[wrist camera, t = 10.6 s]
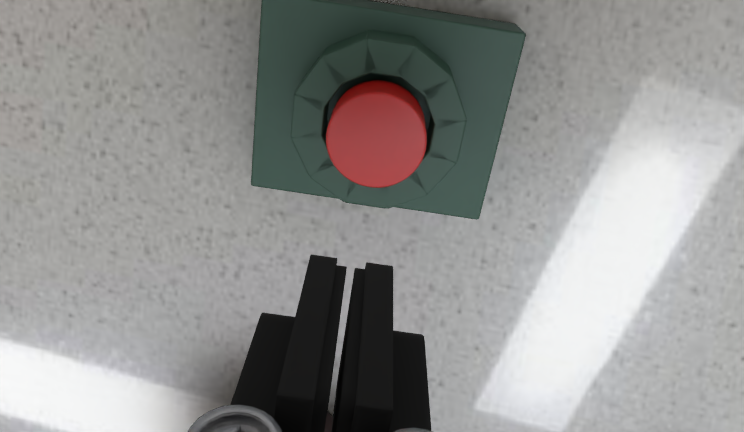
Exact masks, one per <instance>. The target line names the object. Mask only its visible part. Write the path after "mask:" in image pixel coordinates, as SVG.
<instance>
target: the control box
mask: <svg viewBox="0 0 744 432" xmlns="http://www.w3.org/2000/svg"><path fill="white" fill-rule="evenodd" d="M525 36H526V34H525V33H524V32H523V31H522V30H521V29H520V28H519V27H518V26H517V25H516V24H514V23H507V22H501V21H495V20H489V19H482V18H476V17H470V16H463V15H457V14H451V13H445V12H438V11H432V10H426V9H420V8H413V7H407V6H401V5H394V4H388V3H382V2H376V1H369V0H262V5H261V22H260V39H259V56H258V73H257V90H256V107H255V124H254V141H253V158H252V175H251V185H252V186H258V187H265V188H271V189H278V190H285V191H291V192H298V193H305V194H311V195H318V196H324V197H331V198H338V199H340V200H342V201H343V202H344V201H345V202H346V203H353V204H359V205H366V206H373V207H379V208H391V207H398V208H404V209H411V210H418V211H424V212H431V213H438V214H444V215H451V216H458V217H464V218H471V219H479V216H480V213H481V209H482V205H483V201H484V197H485V193H486V189H487V185H488V181H489V177H490V173H491V169H492V166H493V162H494V158H495V154H496V150H497V146H498V142H499V138H500V134H501V130H502V126H503V122H504V119H505V115H506V111H507V107H508V103H509V99H510V95H511V91H512V87H513V83H514V79H515V75H516V72H517V68H518V64H519V60H520V56H521V52H522V48H523V44H524V40H525ZM371 80H383V81H389V82H393V83H395V84H398V85H400V86H402V87H403V88H405V89H406V90H408V91H409V92H410V93H411V94H412V95H413V96H414V97H415V98H416V100H417V101H418V103H419V104H420V106H421V108H422V111H423V114H424V118H425V125H426V134H427V145H426V151H425V155H424V157H423V160H422V162H421V163H420V165H419V167H418V168H417V169H416V170H415V171H414V172H413V173H412V174H411V175H410V176H409V177H408V178H406V179H405V180H403V181H401V182H399V183H397V184H395V185H391V186H388V187H379V188H374V187H367V186H362V185H359V184H357V183H355V182H352V181H351V180H349V179H347V178H346V177H345V176H343V175H342V174H341V173H340V172H339V171H338V170H337V169H336V167H335V166H334V164H333V163H332V161H331V159H330V157H329V154H328V151H327V147H326V132H327V127H328V124H329V121H330V118H331V115H332V112H333V109H334V107H335V105H336V103H337V102H338V100H339V99H340V97H341V96H342V95H343V94H344V93H345V92H346V91H347V90H349V89H350V88H352V87H353V86H355V85H357V84H359V83H362V82H366V81H371Z"/></svg>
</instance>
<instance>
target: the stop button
mask: <svg viewBox="0 0 744 432" xmlns="http://www.w3.org/2000/svg"><path fill="white" fill-rule="evenodd" d="M426 145H427V134H426V125H425V118H424V114H423V111H422V108H421V106H420V104H419V103H418V101H417V100H416V98H415V97H414V96H413V95H412V94H411V93H410V92H409V91H408V90H406V89H405V88H403V87H402V86H400V85H398V84H395V83H393V82H389V81H383V80H371V81H366V82H362V83H359V84H357V85H355V86H353V87H352V88H350V89H349V90H347V91H346V92H345V93H344V94H343V95H342V96H341V97H340V99H339V100H338V102H337V103H336V105H335V107H334V109H333V112H332V115H331V118H330V121H329V124H328V127H327V132H326V147H327V151H328V154H329V157H330V159H331V161H332V163H333V164H334V166H335V167H336V169H337V170H338V171H339V172H340V173H341V174H342V175H343V176H345V177H346V178H347V179H349V180H351V181H352V182H355V183H357V184H359V185H362V186H367V187H374V188H379V187H388V186H391V185H395V184H397V183H399V182H401V181H403V180H405V179H406V178H408V177H409V176H410V175H411V174H412V173H413V172H414V171H415V170H416V169H417V168H418V167H419V165H420V163H421V162H422V160H423V157H424V155H425V151H426Z"/></svg>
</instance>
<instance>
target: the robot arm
mask: <svg viewBox="0 0 744 432" xmlns="http://www.w3.org/2000/svg"><path fill="white" fill-rule="evenodd" d="M336 264H337V258H331V257H324V256H317V255H311V256H310V260H309V264H308V268H307V272H306V276H305V280H304V284H303V288H302V292H301V297H300V301H299V305H298V309H297V313H296V317H290V316H283V315H276V314H268V313H262V314H261V316H260V319H259V321H258V324H257V327H256V330H255V333H254V336H253V339H252V342H251V345H250V348H249V351H248V354H247V357H246V360H245V363H244V366H243V369H242V372H241V375H240V378H239V381H238V384H237V387H236V390H235V393H234V396H233V399H232V402H231V405H229V406H222V407H219V408H216V409H213V410H211V411H209V412H207V413H206V414H204V415H203V416H201V417H199V418H198V419H197V420H196V421H195V423H194V424H193V425H192V426H191V427H190V428H189V430H188V432H324V430H325V423H326V417H327V410H328V403H329V396H330V389H331V381H332V373H333V366H334V358H335V351H336V343H337V336H338V328H339V321H340V313H341V306H342V298H343V291H344V283H345V276H346V268H347V267H344V266H337V265H336ZM331 432H432V431H431V421H430V408H429V394H428V381H427V367H426V354H425V341H424V336H423V335H421V334H413V333H406V332H399V331H393V266H388V265H381V264H374V263H366V267H365V269H359V268H355V271H354V278H353V284H352V290H351V297H350V303H349V310H348V316H347V323H346V329H345V335H344V342H343V348H342V355H341V361H340V367H339V374H338V381H337V389H336V397H335V406H334V414H333V422H332V431H331Z"/></svg>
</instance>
